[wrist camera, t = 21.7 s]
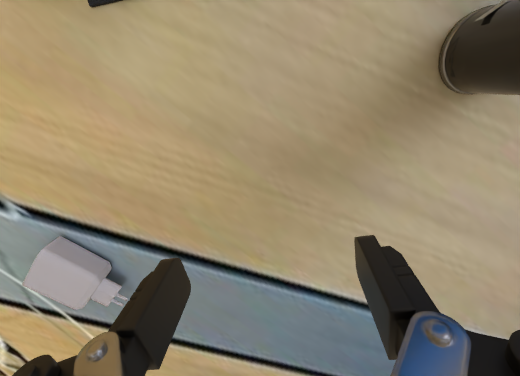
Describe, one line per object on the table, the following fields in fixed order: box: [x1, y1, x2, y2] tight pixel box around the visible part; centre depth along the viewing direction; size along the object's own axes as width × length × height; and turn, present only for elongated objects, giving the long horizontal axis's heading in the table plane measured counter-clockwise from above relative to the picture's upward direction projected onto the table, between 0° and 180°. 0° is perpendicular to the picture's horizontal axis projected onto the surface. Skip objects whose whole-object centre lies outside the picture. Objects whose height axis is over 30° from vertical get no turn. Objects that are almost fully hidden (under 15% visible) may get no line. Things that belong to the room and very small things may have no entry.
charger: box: [22, 236, 128, 310], centre depth 42 cm, size 5×9×15 cm
